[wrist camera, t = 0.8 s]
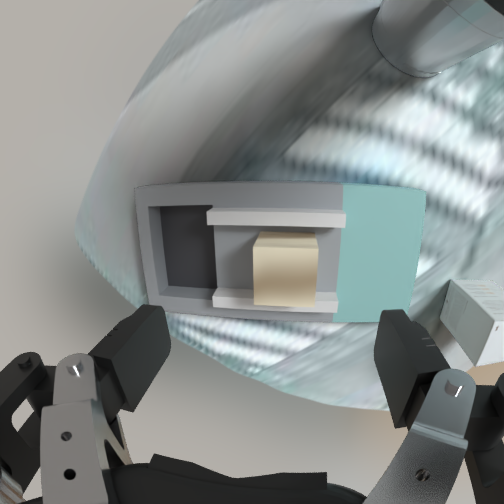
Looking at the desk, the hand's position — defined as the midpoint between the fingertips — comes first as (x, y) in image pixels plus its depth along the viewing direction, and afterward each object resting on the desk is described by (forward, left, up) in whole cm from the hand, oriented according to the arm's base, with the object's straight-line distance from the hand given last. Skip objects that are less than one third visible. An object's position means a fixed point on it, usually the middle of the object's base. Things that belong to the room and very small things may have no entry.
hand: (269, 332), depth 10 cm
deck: (+3, -1, -20) cm, 21 cm away
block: (+3, 0, -17) cm, 18 cm away
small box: (+9, +24, -21) cm, 33 cm away
